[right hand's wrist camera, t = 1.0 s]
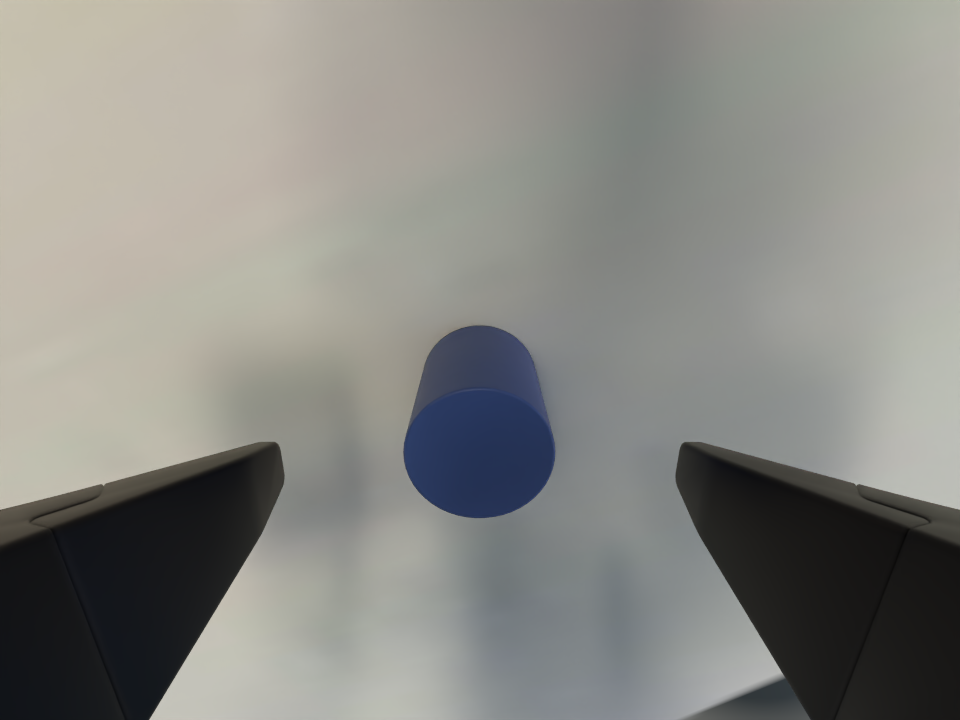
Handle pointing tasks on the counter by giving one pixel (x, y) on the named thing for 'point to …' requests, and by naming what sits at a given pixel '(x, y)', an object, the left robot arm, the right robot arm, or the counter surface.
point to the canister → (479, 426)
